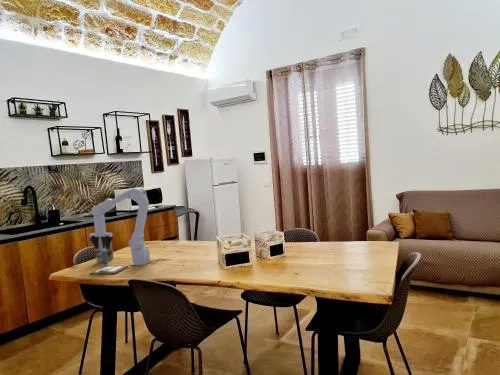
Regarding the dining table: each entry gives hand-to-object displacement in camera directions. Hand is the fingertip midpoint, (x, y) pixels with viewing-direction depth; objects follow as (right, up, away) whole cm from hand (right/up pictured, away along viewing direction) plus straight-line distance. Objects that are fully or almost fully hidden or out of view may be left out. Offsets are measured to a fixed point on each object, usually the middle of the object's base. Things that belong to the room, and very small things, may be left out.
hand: (102, 248), depth 217 cm
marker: (+1, -10, +1) cm, 10 cm away
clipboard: (+8, -10, -10) cm, 17 cm away
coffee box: (-5, -10, +17) cm, 20 cm away
